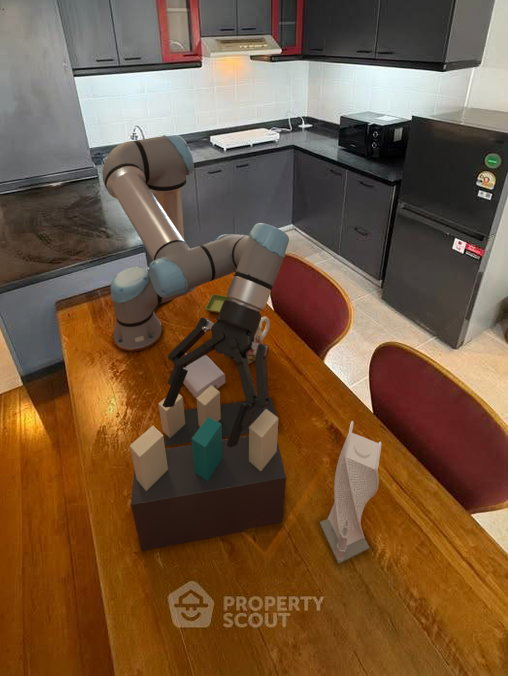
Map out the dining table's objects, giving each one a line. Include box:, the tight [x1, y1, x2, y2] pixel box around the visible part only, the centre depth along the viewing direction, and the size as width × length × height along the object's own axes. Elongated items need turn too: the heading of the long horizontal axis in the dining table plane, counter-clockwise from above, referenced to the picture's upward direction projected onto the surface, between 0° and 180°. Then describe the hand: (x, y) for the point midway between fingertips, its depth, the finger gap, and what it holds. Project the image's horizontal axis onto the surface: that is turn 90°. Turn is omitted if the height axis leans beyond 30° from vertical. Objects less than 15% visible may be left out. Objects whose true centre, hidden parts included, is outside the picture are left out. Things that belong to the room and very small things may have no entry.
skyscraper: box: [319, 420, 383, 565], centre depth 70 cm, size 8×8×28 cm
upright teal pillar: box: [191, 417, 223, 481], centre depth 70 cm, size 3×5×10 cm, turn 149°
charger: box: [183, 352, 226, 399], centre depth 109 cm, size 5×9×15 cm
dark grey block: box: [158, 385, 280, 447], centre depth 95 cm, size 9×29×11 cm, turn 99°
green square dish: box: [204, 293, 229, 314], centre depth 136 cm, size 9×9×2 cm
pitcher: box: [246, 316, 271, 364], centre depth 114 cm, size 11×18×14 cm, turn 129°
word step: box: [129, 409, 287, 552], centre depth 74 cm, size 9×28×26 cm, turn 99°
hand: (198, 425), depth 65 cm, fingers open, 13 cm apart
